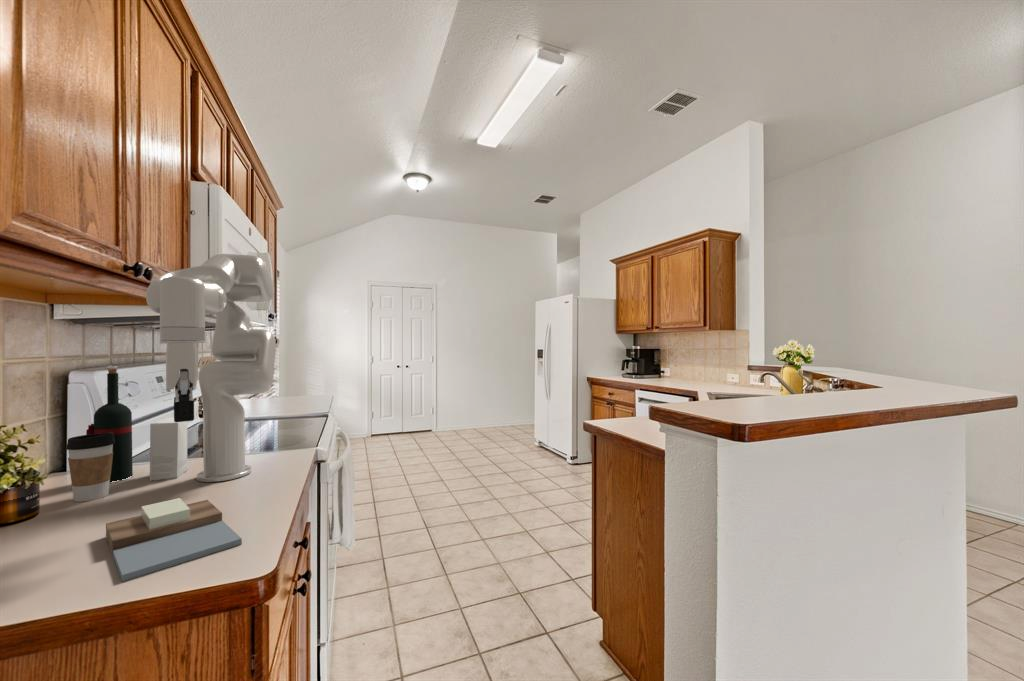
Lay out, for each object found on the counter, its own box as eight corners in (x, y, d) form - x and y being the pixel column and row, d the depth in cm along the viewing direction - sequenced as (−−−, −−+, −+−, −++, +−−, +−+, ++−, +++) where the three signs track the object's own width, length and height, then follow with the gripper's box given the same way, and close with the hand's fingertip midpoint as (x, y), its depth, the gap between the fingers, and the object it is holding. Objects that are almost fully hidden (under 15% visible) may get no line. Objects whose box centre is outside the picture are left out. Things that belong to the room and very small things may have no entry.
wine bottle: (85, 480, 115) (84, 369, 116) (135, 473, 121) (134, 367, 121) (76, 488, 109) (76, 370, 109) (129, 480, 114) (129, 368, 115)
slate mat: (112, 556, 73) (112, 550, 73) (222, 525, 85) (222, 520, 85) (122, 581, 65) (122, 575, 65) (241, 544, 77) (241, 538, 77)
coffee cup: (99, 502, 99) (99, 437, 99) (55, 505, 97) (55, 439, 97) (124, 489, 107) (123, 430, 107) (83, 492, 105) (83, 432, 105)
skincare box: (161, 472, 121) (161, 417, 121) (189, 470, 124) (189, 416, 124) (148, 481, 113) (148, 423, 113) (178, 478, 116) (178, 421, 116)
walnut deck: (105, 536, 81) (105, 523, 81) (207, 511, 92) (207, 499, 92) (112, 555, 73) (112, 541, 73) (222, 525, 85) (222, 512, 85)
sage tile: (141, 516, 84) (141, 506, 84) (179, 507, 88) (179, 497, 88) (149, 529, 78) (149, 518, 78) (190, 519, 82) (190, 508, 82)
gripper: (161, 337, 94) (161, 414, 94) (158, 335, 80) (159, 426, 80) (203, 337, 99) (203, 411, 99) (207, 335, 85) (208, 421, 85)
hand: (183, 417), depth 89 cm, fingers open, 9 cm apart
